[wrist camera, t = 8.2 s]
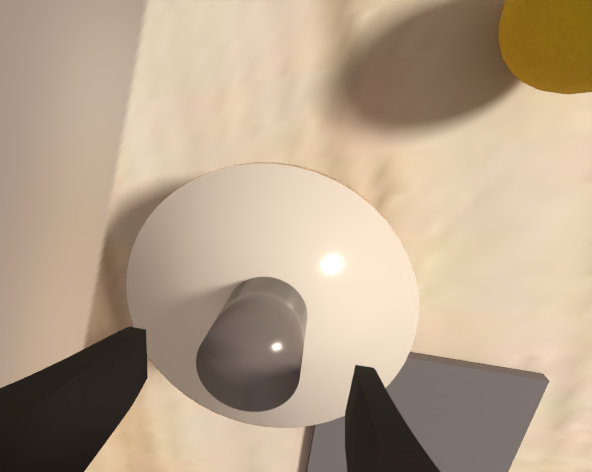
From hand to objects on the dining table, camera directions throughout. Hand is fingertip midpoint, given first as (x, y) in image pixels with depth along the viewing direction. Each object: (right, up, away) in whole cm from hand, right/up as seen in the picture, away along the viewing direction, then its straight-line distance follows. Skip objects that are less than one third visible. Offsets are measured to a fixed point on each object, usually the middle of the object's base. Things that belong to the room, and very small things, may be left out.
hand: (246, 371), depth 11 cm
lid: (0, +1, +4) cm, 4 cm away
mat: (+9, -9, +11) cm, 17 cm away
